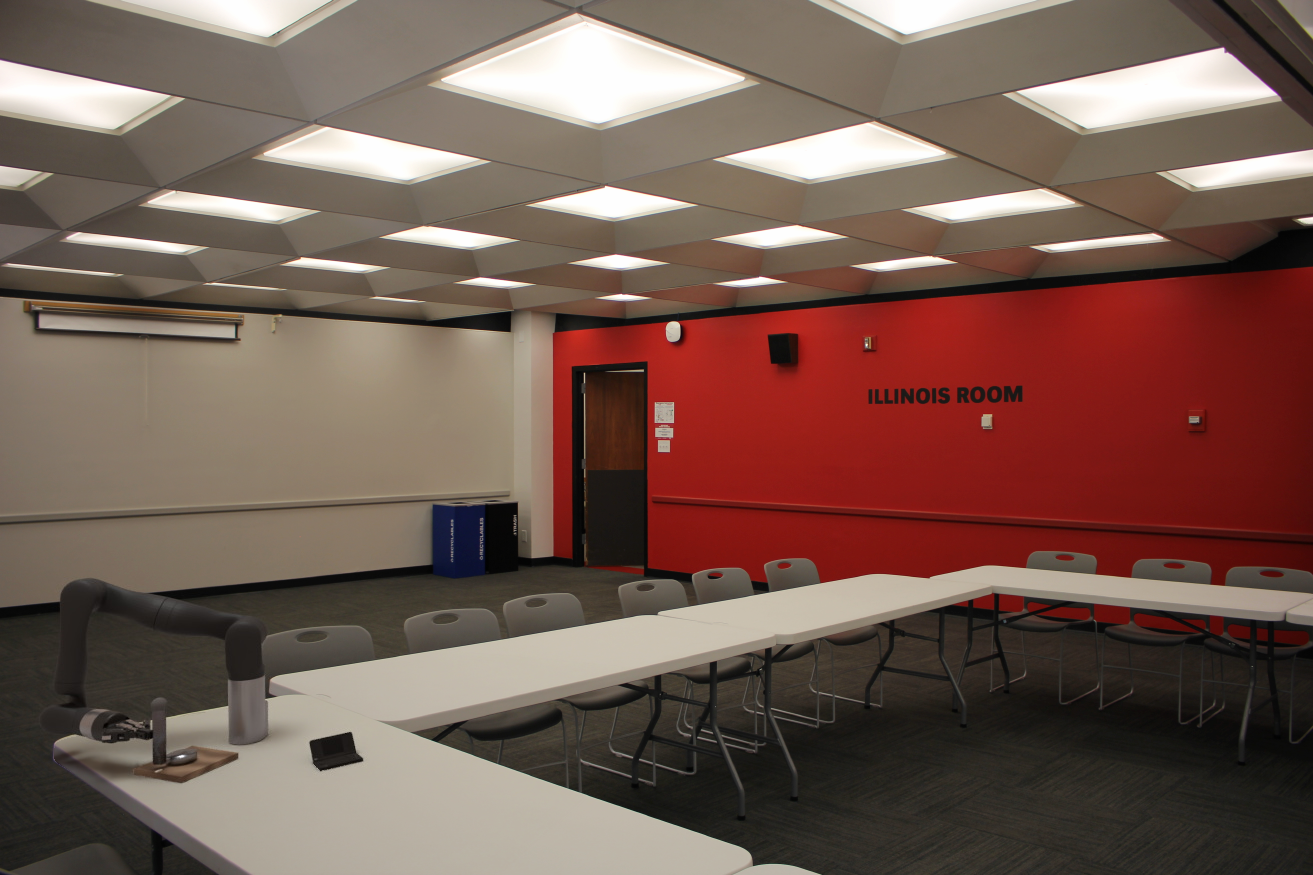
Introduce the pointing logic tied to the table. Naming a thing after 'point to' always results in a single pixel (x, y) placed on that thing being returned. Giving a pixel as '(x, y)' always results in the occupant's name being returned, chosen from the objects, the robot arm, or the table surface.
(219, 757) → the walnut stand base
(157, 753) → the grey upright post stand
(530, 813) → the table surface
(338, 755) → the handheld gaming console
